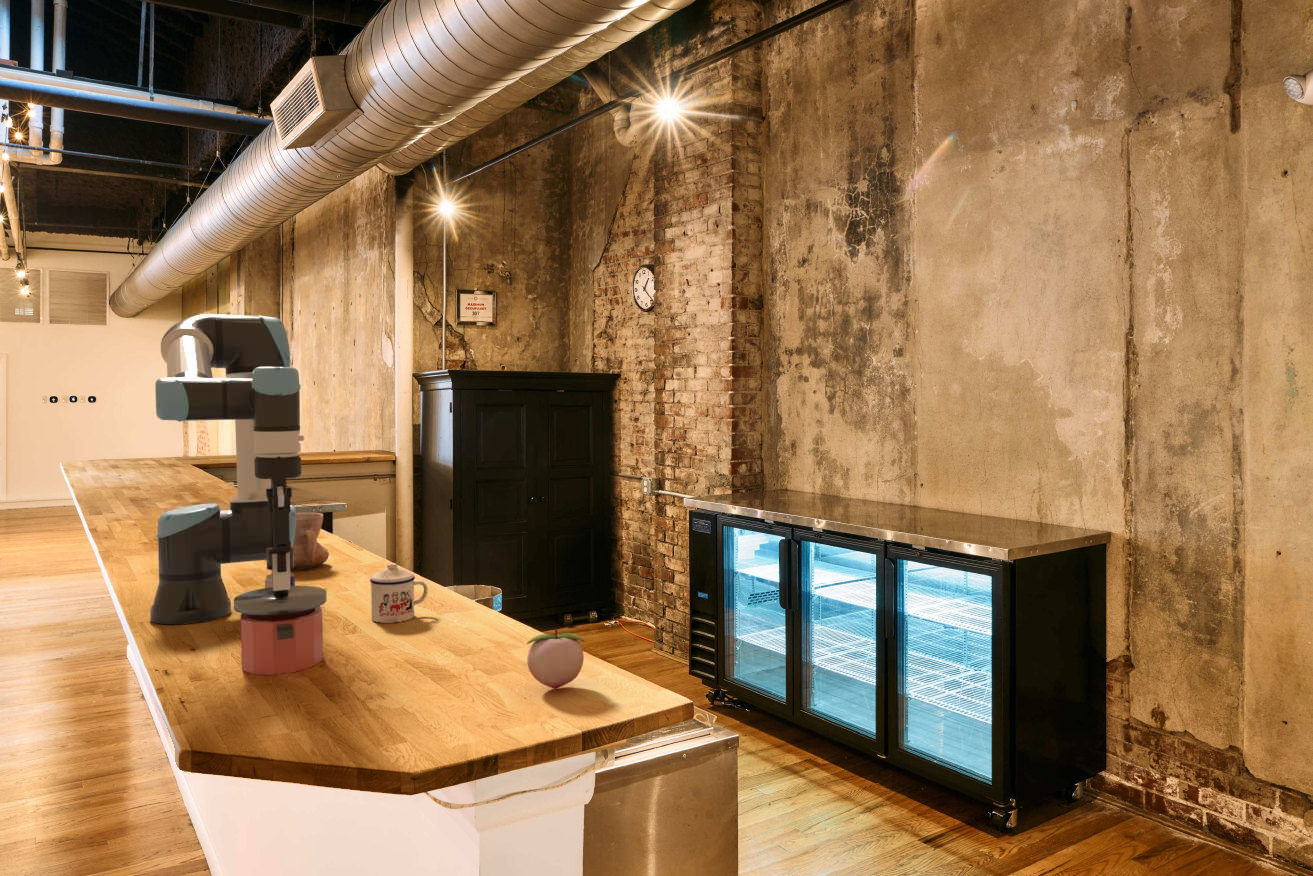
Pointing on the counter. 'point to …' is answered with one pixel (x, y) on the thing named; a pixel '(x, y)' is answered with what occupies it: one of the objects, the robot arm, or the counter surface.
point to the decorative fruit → (555, 658)
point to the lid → (280, 596)
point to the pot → (281, 642)
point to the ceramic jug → (308, 541)
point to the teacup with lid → (394, 595)
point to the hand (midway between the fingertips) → (281, 586)
